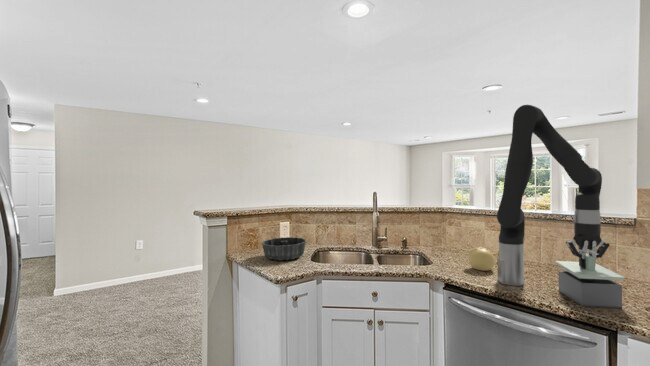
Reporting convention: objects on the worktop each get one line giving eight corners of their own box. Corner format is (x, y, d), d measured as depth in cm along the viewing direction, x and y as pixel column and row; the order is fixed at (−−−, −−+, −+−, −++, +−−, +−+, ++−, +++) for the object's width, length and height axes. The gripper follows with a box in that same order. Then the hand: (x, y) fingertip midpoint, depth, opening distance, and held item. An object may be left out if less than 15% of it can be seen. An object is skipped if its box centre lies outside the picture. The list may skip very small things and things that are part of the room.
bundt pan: (255, 263, 181) (255, 245, 181) (269, 252, 207) (269, 236, 207) (301, 263, 177) (301, 245, 177) (310, 252, 203) (309, 237, 203)
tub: (581, 306, 112) (581, 283, 112) (558, 290, 128) (558, 270, 128) (622, 308, 110) (621, 285, 110) (593, 292, 125) (593, 271, 125)
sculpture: (489, 266, 165) (489, 245, 165) (498, 273, 153) (498, 250, 153) (466, 265, 166) (465, 245, 166) (473, 272, 155) (472, 250, 154)
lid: (579, 280, 112) (579, 261, 111) (554, 264, 129) (555, 248, 128) (624, 282, 109) (625, 262, 109) (593, 266, 126) (593, 249, 126)
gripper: (571, 222, 116) (571, 270, 116) (615, 223, 113) (615, 272, 113) (560, 220, 123) (560, 265, 124) (602, 220, 121) (602, 266, 121)
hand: (587, 268), depth 119 cm, fingers closed on lid
